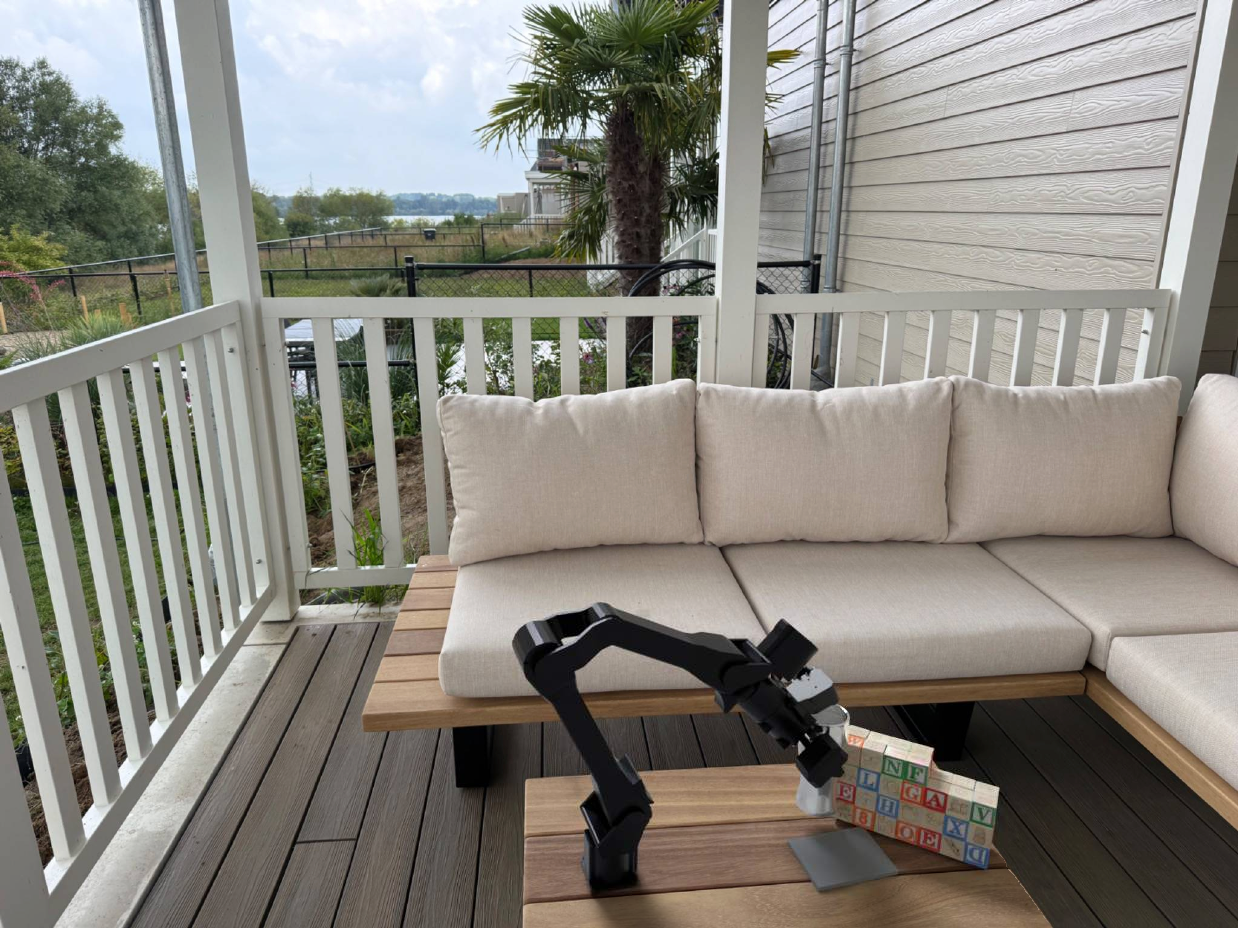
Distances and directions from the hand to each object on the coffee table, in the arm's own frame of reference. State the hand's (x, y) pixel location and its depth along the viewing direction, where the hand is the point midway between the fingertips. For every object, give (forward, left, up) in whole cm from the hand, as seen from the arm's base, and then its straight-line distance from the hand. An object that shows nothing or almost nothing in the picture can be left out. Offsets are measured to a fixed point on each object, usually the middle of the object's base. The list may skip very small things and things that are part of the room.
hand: (829, 759), depth 116 cm
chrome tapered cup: (-1, 0, -7) cm, 7 cm away
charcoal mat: (-1, -7, -11) cm, 13 cm away
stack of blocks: (+11, -5, -11) cm, 16 cm away
